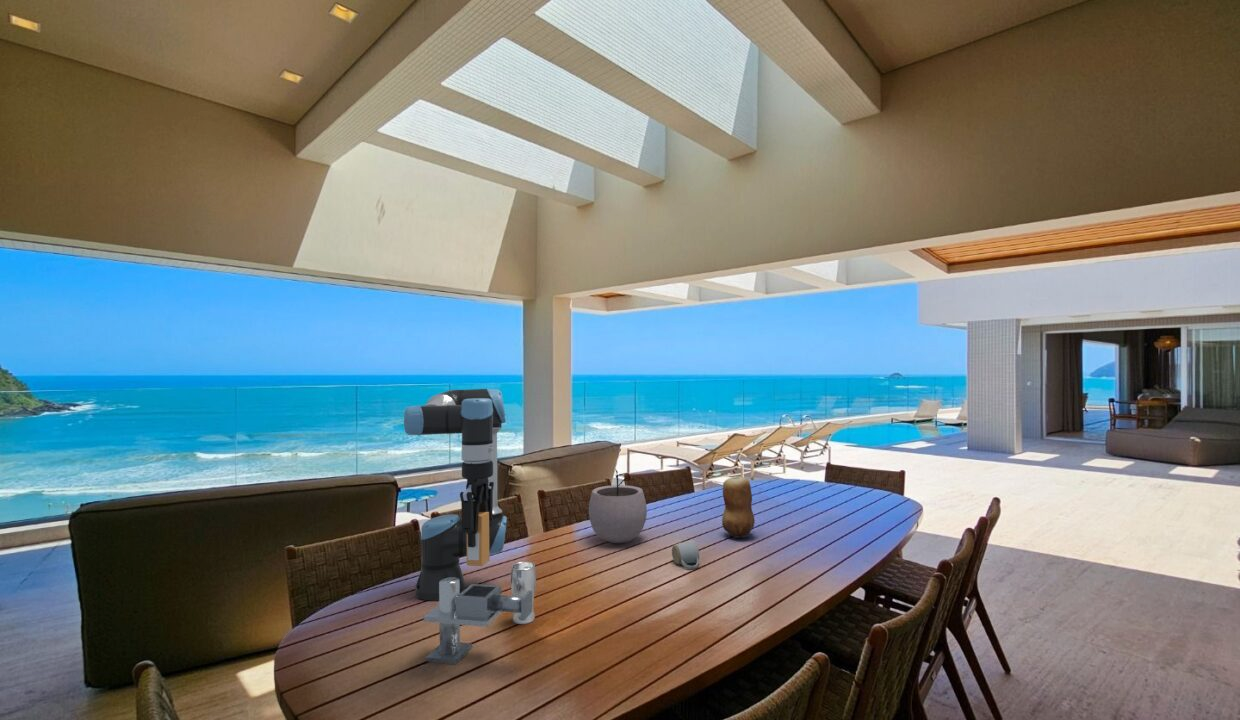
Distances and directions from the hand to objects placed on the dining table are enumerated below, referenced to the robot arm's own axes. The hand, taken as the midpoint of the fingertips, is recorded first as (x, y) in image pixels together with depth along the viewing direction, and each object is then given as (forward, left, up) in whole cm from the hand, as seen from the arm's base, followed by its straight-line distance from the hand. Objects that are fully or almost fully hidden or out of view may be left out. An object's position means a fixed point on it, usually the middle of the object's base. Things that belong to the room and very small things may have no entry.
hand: (478, 556), depth 130 cm
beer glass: (+3, +21, -25) cm, 33 cm away
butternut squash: (+64, +107, -25) cm, 127 cm away
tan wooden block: (0, 0, -2) cm, 2 cm away
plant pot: (+15, +94, -25) cm, 98 cm away
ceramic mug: (+45, +72, -25) cm, 89 cm away
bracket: (+5, 0, -14) cm, 14 cm away
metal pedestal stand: (-4, 0, -25) cm, 25 cm away
